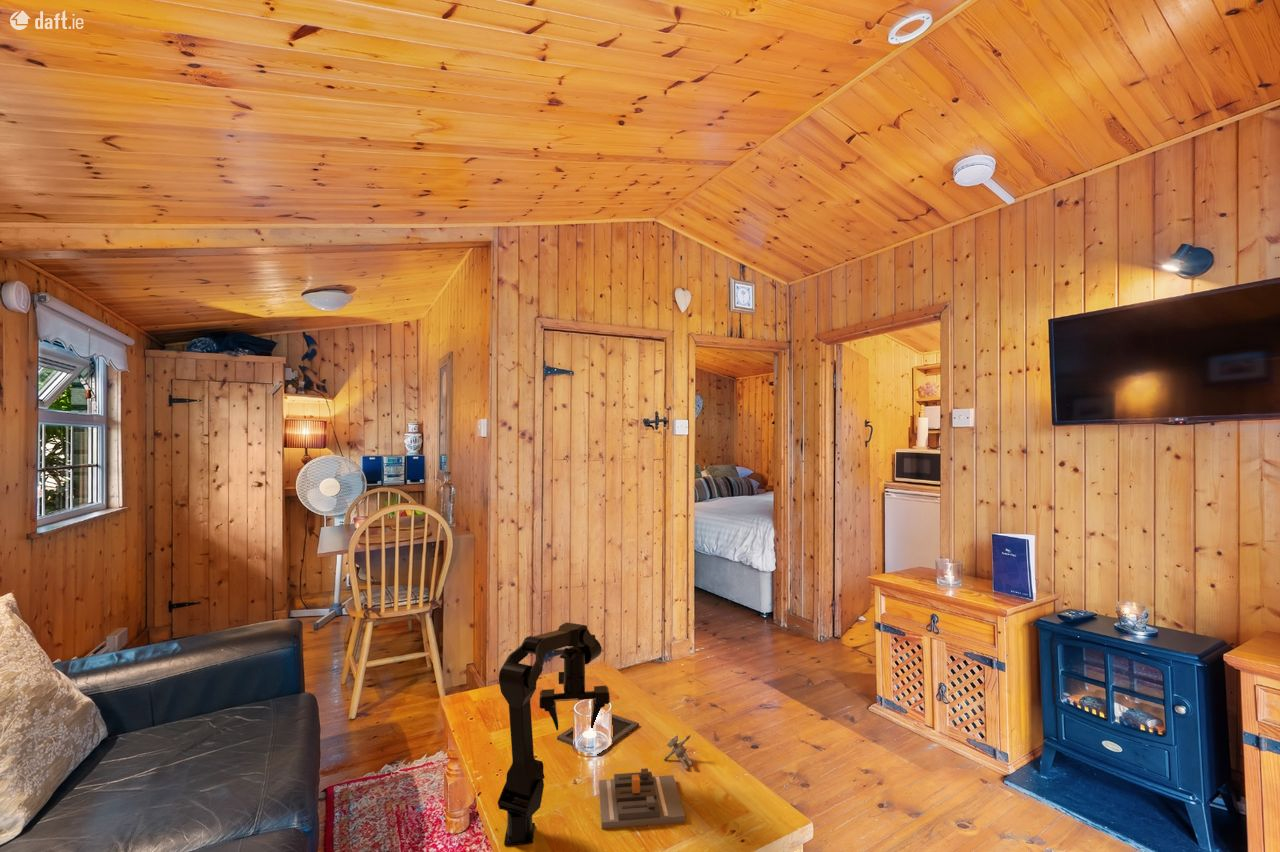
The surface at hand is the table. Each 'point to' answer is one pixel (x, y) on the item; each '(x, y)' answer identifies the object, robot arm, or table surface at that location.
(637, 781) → the handle
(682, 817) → the panel
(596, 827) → the table surface
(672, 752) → the grey toy figurine
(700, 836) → the table surface
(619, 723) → the picture frame
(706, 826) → the table surface
